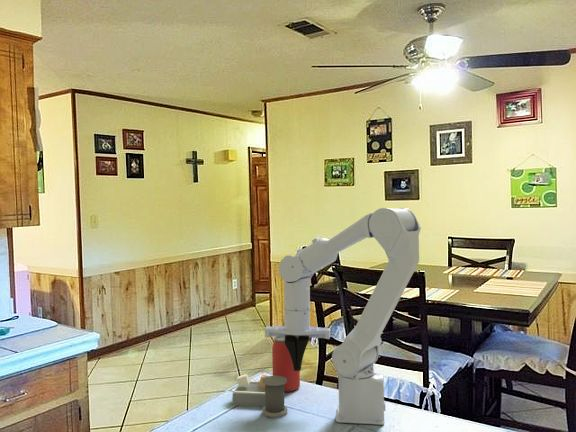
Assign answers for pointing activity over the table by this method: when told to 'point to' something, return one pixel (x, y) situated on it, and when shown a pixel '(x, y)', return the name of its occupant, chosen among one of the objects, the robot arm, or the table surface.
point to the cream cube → (243, 380)
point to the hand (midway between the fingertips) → (297, 369)
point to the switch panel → (250, 395)
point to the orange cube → (261, 380)
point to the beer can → (284, 365)
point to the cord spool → (274, 396)
